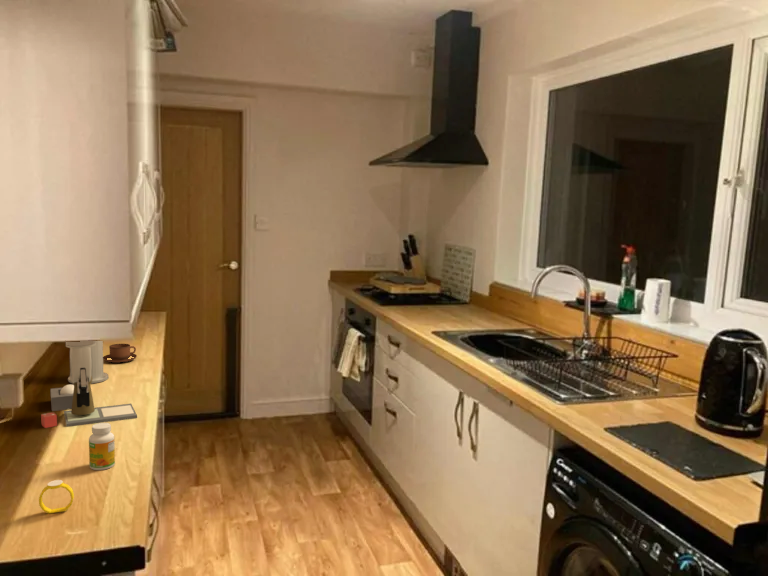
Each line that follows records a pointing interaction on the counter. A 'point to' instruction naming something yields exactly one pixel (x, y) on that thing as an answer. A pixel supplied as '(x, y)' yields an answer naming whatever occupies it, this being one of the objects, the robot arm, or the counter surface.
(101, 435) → the supplement bottle
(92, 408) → the brown pepper mill
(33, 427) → the counter surface
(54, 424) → the red die
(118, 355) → the cup and saucer
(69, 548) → the counter surface
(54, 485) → the watch
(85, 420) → the game board
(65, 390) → the cream white ball
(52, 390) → the gray square holder
